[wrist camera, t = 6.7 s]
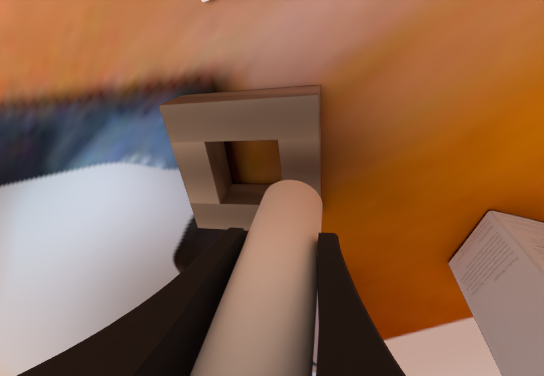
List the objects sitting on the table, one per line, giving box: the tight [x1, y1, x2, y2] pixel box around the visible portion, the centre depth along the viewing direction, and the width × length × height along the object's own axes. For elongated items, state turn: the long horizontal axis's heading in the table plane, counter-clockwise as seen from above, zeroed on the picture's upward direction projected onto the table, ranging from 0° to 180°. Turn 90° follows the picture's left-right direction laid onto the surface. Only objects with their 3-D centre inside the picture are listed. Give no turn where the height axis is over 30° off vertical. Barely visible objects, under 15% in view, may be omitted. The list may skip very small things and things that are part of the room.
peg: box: [190, 180, 323, 376], centre depth 9 cm, size 3×3×9 cm
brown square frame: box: [159, 85, 322, 230], centre depth 19 cm, size 10×10×3 cm
